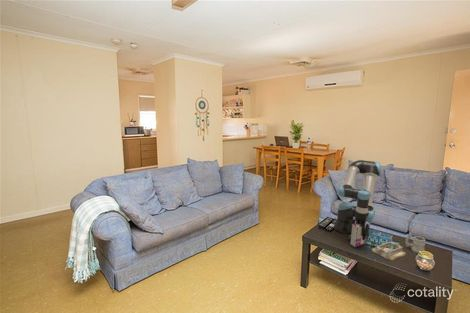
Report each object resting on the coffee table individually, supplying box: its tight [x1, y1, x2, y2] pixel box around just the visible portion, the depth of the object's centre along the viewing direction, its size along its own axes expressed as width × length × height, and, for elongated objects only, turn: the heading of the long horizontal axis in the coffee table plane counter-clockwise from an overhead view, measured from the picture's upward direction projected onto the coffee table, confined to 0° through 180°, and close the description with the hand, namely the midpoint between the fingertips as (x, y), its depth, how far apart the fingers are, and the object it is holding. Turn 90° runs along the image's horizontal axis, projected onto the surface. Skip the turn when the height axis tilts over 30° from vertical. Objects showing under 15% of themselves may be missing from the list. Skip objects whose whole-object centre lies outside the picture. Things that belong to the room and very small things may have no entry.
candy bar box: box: [349, 222, 368, 248], centre depth 180 cm, size 11×5×16 cm, turn 114°
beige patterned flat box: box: [371, 241, 407, 262], centre depth 172 cm, size 14×17×4 cm
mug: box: [404, 232, 426, 254], centre depth 176 cm, size 8×12×12 cm, turn 46°
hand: (358, 241), depth 181 cm, fingers closed on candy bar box, 5 cm apart
